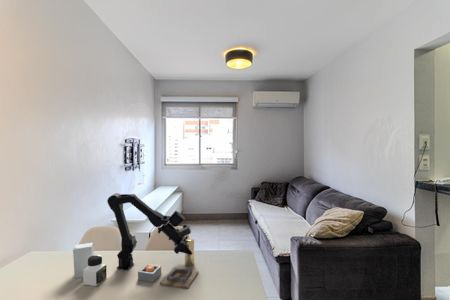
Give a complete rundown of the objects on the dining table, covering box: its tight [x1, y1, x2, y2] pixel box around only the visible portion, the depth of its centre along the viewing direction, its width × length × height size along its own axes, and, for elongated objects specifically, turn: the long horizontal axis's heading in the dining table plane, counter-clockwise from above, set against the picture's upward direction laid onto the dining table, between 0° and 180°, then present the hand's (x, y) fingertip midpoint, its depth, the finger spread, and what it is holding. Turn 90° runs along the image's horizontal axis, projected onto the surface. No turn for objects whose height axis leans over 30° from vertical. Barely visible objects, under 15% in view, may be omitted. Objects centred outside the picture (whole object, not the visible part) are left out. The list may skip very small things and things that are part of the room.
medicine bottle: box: [82, 254, 107, 287], centre depth 118 cm, size 7×7×12 cm
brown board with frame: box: [159, 267, 199, 290], centre depth 121 cm, size 14×14×2 cm
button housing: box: [137, 263, 162, 283], centre depth 122 cm, size 8×8×4 cm
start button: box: [146, 264, 154, 272], centre depth 122 cm, size 4×4×3 cm
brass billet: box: [184, 238, 195, 267], centre depth 135 cm, size 5×5×13 cm
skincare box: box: [72, 242, 94, 279], centre depth 124 cm, size 8×6×15 cm
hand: (192, 251), depth 135 cm, fingers closed on brass billet, 5 cm apart
